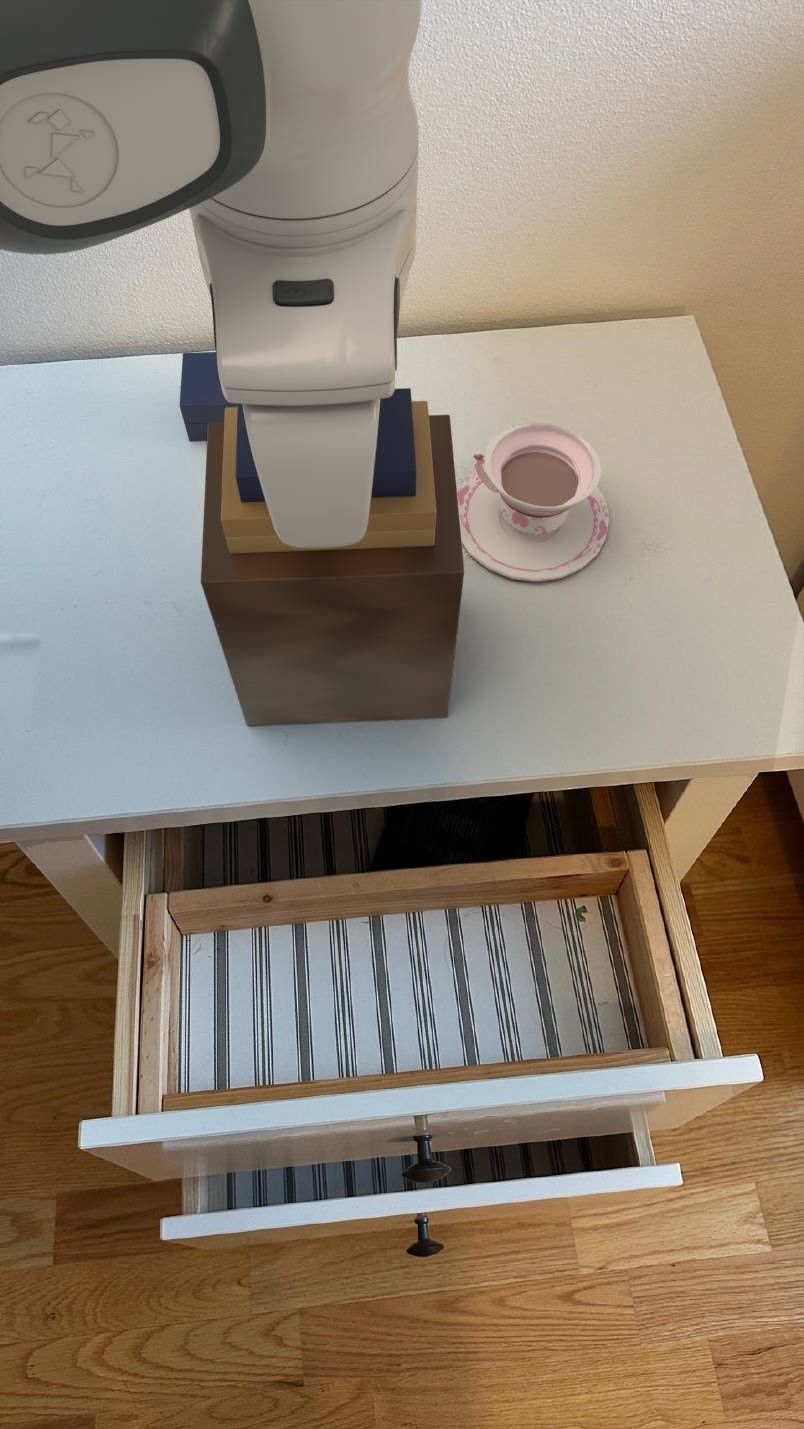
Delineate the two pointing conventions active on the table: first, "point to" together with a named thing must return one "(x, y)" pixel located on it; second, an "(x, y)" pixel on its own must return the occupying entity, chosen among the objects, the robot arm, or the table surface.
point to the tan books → (388, 516)
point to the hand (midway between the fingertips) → (326, 449)
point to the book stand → (338, 614)
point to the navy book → (391, 458)
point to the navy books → (201, 394)
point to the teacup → (534, 504)
